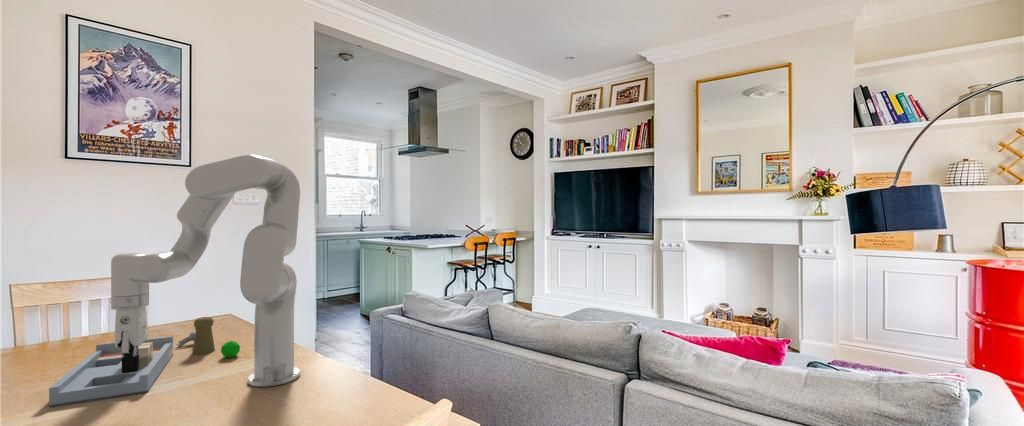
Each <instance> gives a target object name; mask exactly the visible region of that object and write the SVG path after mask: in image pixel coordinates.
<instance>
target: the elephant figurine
mask: <svg viewBox="0 0 1024 426" xmlns="http://www.w3.org/2000/svg"><path fill="white" fill-rule="evenodd" d="M195 333H196V328H195V327H194V331H193V332H191V333H189V335H188V336H187V337H184V338H183V339H180V340H178V341H177V343H176V345H177V346H178V348H180V347H183V346H184V345H185V344H187V343H189V342H192V341H193V342H194V339H195Z"/></svg>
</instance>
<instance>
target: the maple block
mask: <svg viewBox="0 0 1024 426" xmlns="http://www.w3.org/2000/svg"><path fill="white" fill-rule="evenodd" d="M137 355H138V354H137ZM152 360H153V342H152V343H142V344H141V345H140V346H139V367H140V366H147V365H149V363H150V362H151V361H152Z"/></svg>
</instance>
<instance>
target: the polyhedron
mask: <svg viewBox="0 0 1024 426" xmlns="http://www.w3.org/2000/svg"><path fill="white" fill-rule="evenodd" d="M240 351H241V346H240V345H239V343H238V342H237V341H234V340H230V341H226V342H224V343H223V345H222V346H221V348H220V353H221V355H222V356H223V357H225V358H226V359H227V358H228V359H231V358H234V357H236V356H237V355H238V354H239V353H240Z"/></svg>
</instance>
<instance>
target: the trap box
mask: <svg viewBox="0 0 1024 426" xmlns="http://www.w3.org/2000/svg"><path fill="white" fill-rule="evenodd" d="M152 342H153V360H152V361H151V362H150V363H149V365H147V366H140V367H139V369H138V371H136V372H129V373H122V349H121V348H119V349H118V348H116V347H115V341H113V342H105V343H97V344H96V345H95V350H94V351H93V352H92V353H91V354H89V355H88V356H87V357H85V358H84V359H83V360H82V361H81V362H79V363H78V364H77V365H76V366H75V367H73V368H72V369H71V370H69V372H67V373H66V374H65V375H63V376H62V377H61V378H60V379H58V380H57V381H56V382H55V383H53V385H51V386H50V387H49V390H48V391H49V392H48V393H49V394H48V396H49V398H48V402H49V403H48V404H49V405H48V407H49V408H54V407H61V406H66V405H67V406H68V405H73V404H74V405H75V404H80V403H87V402H94V401H101V400H107V399H113V398H120V397H127V396H133V395H140V394H146V393H149V392H150V391H151V388H152V387H153V385H154V384H155V383H156V381H157V380H158V378H159V377H160V375H161V374H162V372H163V371H164V370H165V368H166V366H167V365H168V364H169V362H170V360H171V359H172V357H174V336H173V335H172V336H161V337H153V338H152V337H151V338H147V339H146V340H145V341H144V342H143V343H152Z"/></svg>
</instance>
